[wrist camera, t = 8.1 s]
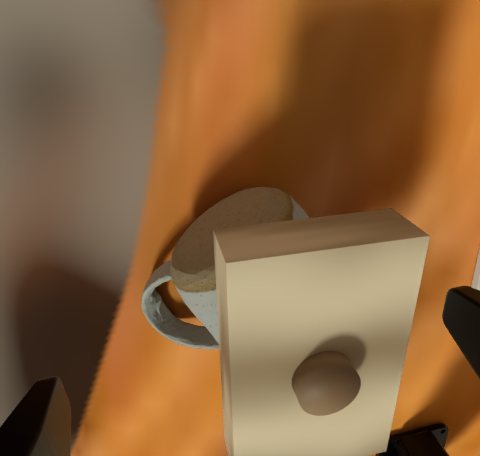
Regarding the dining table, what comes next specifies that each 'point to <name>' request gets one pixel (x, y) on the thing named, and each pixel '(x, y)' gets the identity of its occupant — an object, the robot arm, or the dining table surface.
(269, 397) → the lid
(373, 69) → the dining table surface
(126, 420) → the dining table surface
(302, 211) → the ceramic mug
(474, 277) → the mat
